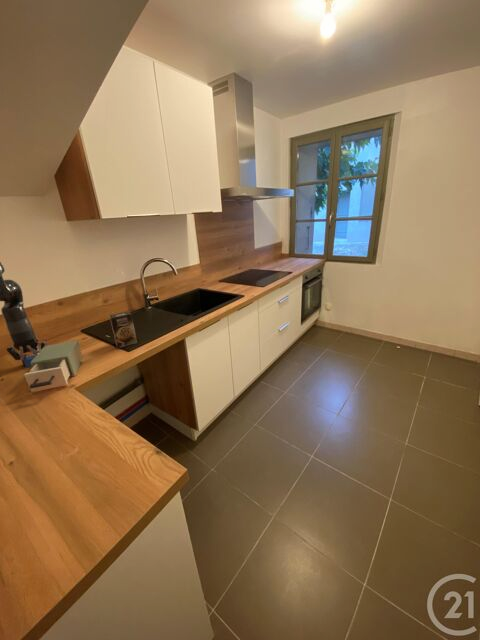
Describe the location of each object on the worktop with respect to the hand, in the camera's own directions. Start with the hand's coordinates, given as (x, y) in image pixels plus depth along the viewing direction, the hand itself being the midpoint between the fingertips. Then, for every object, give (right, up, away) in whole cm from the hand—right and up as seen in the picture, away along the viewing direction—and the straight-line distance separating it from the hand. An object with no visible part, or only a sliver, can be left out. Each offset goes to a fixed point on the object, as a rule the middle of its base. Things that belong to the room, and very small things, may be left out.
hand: (34, 365), depth 113 cm
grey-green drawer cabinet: (+15, -1, -4) cm, 16 cm away
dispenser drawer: (+18, -4, -14) cm, 23 cm away
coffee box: (+34, +7, +14) cm, 37 cm away
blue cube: (0, 0, 0) cm, 0 cm away
